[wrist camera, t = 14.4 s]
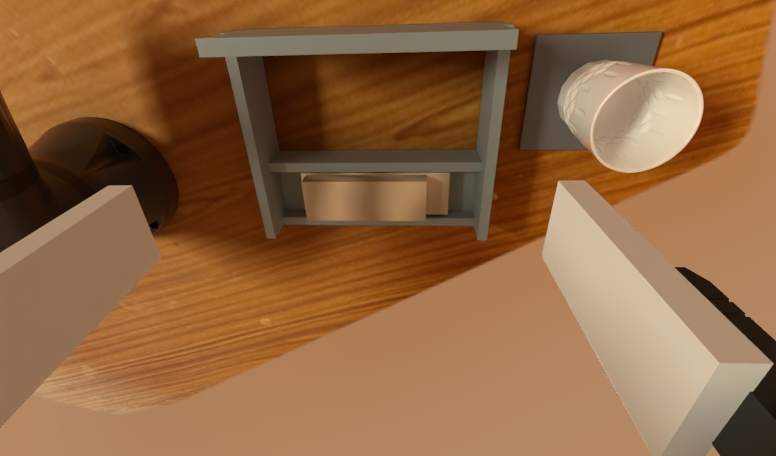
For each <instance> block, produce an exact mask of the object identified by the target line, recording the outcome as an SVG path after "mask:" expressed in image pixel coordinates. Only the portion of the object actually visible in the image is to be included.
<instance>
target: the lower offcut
mask: <svg viewBox="0 0 776 456" xmlns="http://www.w3.org/2000/svg"><path fill="white" fill-rule="evenodd" d="M305 175H426V180H427V186H426V214H448V200H449V183H450V172H301V179H302V180H303V178H304V177H305Z"/></svg>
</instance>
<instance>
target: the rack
mask: <svg viewBox="0 0 776 456" xmlns="http://www.w3.org/2000/svg"><path fill="white" fill-rule="evenodd" d="M518 35H519V29H516V28H514V24H509V23H504V22H466V23H433V24H400V25H367V26H333V27H300V28H267V29H245V30H238V31H231V32H224V33H220V35H215V36H208V37H202V38H195V42H196V46H197V49H198V53H199V57H200V58H201V57H225V59H226V64H227V68H228V72H229V77H230V81H231V85H232V90H233V94H234V98H235V103H236V107H237V111H238V116H239V120H240V124H241V129H242V133H243V137H244V142H245V146H246V151H247V155H248V159H249V164H250V168H251V172H252V177H253V181H254V185H255V190H256V194H257V198H258V203H259V207H260V211H261V216H262V220H263V224H264V229H265V233H266V237H267V238H273V239H276V237H277V235H278V234H279V232H280V230H281V229H282V227H283V225H383V226H474V229H475V233H476V237H477V240H485V241H487V236H488V228H489V220H490V212H491V204H492V196H493V188H494V180H495V173H496V165H497V157H498V149H499V141H500V133H501V125H502V117H503V109H504V101H505V93H506V85H507V77H508V69H509V61H510V53H511V50H517V42H518ZM481 50H486V53H485V64H484V75H483V85H482V96H481V106H480V117H479V127H478V138H477V148H476V149H422V150H282V151H280V150H279V144H278V139H277V134H276V128H275V123H274V117H273V112H272V106H271V101H270V95H269V90H268V84H267V79H266V74H265V68H264V63H263V57H262V56H281V55H321V54H361V53H401V52H441V51H481ZM301 172H450V183H449V200H448V214H426V221H332V220H307V215H306V209H305V203H304V197H303V190H302V184H301V181H302V179H301Z"/></svg>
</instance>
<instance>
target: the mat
mask: <svg viewBox="0 0 776 456" xmlns="http://www.w3.org/2000/svg"><path fill="white" fill-rule="evenodd" d="M661 35H662V32H627V33H591V34H554V35H536V38H535V45H534V51H533V58H532V64H531V71H530V77H529V84H528V90H527V97H526V103H525V110H524V116H523V123H522V129H521V136H520V142H519V150H588V149H587V148H586V147H585V146H584V145H583V144H582V143H581V142H580V141H579V139H578V138H577V137H576V136H575V135H574V134H573V133H572V132H571V130H570V128H569V127H568V125H567V124H566V123H565V122H564V121H563V120H562V119H561V118H560V115H559V110H558V105H557V102H558V98H559V94H560V90H561V87H562V86H563V84H564V83H565V82H566V80H567V79H568V78H569V76H570V75H571V74H572V72H574V71H575V70H577V69H579V68H580V67H582V66H583V65H585V64H587V63H588V62H594V61H600V60H610V61H624V62H631V63H640V64H646V65H652V64H653V61H654V58H655V55H656V51H657V48H658V45H659V41H660V38H661Z"/></svg>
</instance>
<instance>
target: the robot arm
mask: <svg viewBox="0 0 776 456" xmlns="http://www.w3.org/2000/svg"><path fill="white" fill-rule="evenodd" d="M177 204H178V192H177V186H176V182H175V179H174V177H173V174H172V172H171V170H170V168H169V167H168V165H167V163H166V162H165V160H164V159H163V158H162V156H161V155H160V154H159V153H158V152H157V150H156V149H155V148H154V147H153V146H152V145H151V144H150V143H148V142H147V141H146V140H145V139H144V138H142V137H141V136H140V135H138V134H137V133H135V132H134V131H132V130H130V129H129V128H127V127H125V126H123V125H120V124H118V123H115V122H113V121H110V120H106V119H101V118H94V117H84V118H78V119H74V120H71V121H68V122H65V123H62V124H59V125H57V126H54V127H53V128H51V129H49V130H48V131H46V132H45V133H44V134H43V135H42V136H41V137H40V138H39V139H38V140H37V141H36V142H35V143H34V144H33V145H32V146H31V147H30V148H29V149H28V148H27V146H26V144H25V142H24V140H23V138H22V136H21V134H20V132H19V130H18V128H17V126H16V124H15V122H14V120H13V118H12V115H11V113H10V111H9V109H8V107H7V105H6V103H5V100H4V98H3V96H2V94H1V92H0V427H1V426H2V425H3V424H4V423H5V422H6V421H7V420H8V419H9V418H10V417H11V416H12V415H13V414H14V413H15V412H16V410H17V409H18V408H19V407H20V406H21V405H22V404H23V403H24V402H25V401H26V400H27V399H28V398H29V397H30V396H31V395H32V394H33V393H34V392H35V390H36V389H37V388H38V387H39V386H40V385H41V384H42V383H43V382H44V381H45V380H46V379H47V378H48V377H49V376H50V375H51V374H52V373H53V371H54V370H55V369H56V368H57V367H58V366H59V365H60V364H61V363H62V362H63V361H64V360H65V359H66V358H67V357H68V356H69V355H70V354H71V352H72V351H73V350H74V349H75V348H76V347H77V346H78V345H79V344H80V343H81V342H82V341H83V340H84V339H85V338H86V337H87V336H88V334H89V333H90V332H91V331H92V330H93V329H94V328H95V327H96V326H97V325H98V324H99V323H100V322H101V321H102V320H103V319H104V318H105V317H106V315H107V314H108V313H109V312H110V311H111V310H112V309H113V308H114V307H115V306H116V305H117V304H118V303H119V302H120V301H121V300H122V299H123V298H124V296H125V295H126V294H127V293H128V292H129V291H130V290H131V289H132V288H133V287H134V286H135V285H136V284H137V283H138V282H139V281H140V280H141V279H142V277H143V276H144V275H145V274H146V273H147V272H148V271H149V270H150V269H151V268H152V267H153V266H154V265H155V264H156V263H157V262H158V261H159V260H160V258H161V255H160V252H159V250H158V247H157V245H156V242H155V240H154V238H153V235H154V234H155V233H157V232H158V231H159V230H160V229H161V228H162V227H164V226H165V225H166V224H167V223H168V222H169V221H170V220H171V219H172V217H173V215H174V214H175V211H176V208H177ZM542 258H543V260H544V262H545V264H546V265H547V267H548V269H549V271H550V273H551V274H552V276H553V278H554V280H555V282H556V284H557V285H558V287H559V289H560V291H561V293H562V294H563V296H564V298H565V300H566V302H567V303H568V305H569V307H570V309H571V311H572V312H573V314H574V316H575V318H576V320H577V321H578V323H579V325H580V327H581V329H582V330H583V332H584V334H585V336H586V338H587V340H588V341H589V343H590V345H591V347H592V349H593V350H594V352H595V354H596V356H597V358H598V360H599V361H600V363H601V365H602V367H603V369H604V370H605V372H606V374H607V376H608V378H609V379H610V381H611V383H612V385H613V387H614V389H615V390H616V392H617V394H618V396H619V398H620V399H621V401H622V403H623V405H624V407H625V408H626V410H627V412H628V414H629V416H630V417H631V419H632V421H633V423H634V425H635V426H636V428H637V430H638V432H639V434H640V436H641V437H642V439H643V441H644V443H645V445H646V446H647V448H648V450H649V452H650V454H651V456H705V455H706V454H707V453H708V451H709V450H710V448H711V447H712V446H714V447H715V449H716V450H717V452H718V453H719V454H720V456H776V341H775V340H774V339H773V338H772V337H771V336H770V335H768V334H767V333H766V332H765V331H764V330H763V329H762V328H761V327H760V326H759V325H757V324H756V323H755V322H754V321H753V320H752V319H751V318H750V317H745V313H744V312H743V311H742V310H741V309H740V308H739V307H737V306H736V305H735V304H734V303H733V302H729V298H727V297H726V296H725V295H724V294H723V293H722V292H721V291H720V290H719V289H718V288H716V287H715V286H714V285H713V284H712V283H711V282H710V281H708V280H706V279H704V278H703V277H701V276H699V275H697V274H695V273H694V272H692V271H690V270H688V269H687V268H685V267H673V266H672V265H671V264H670V263H669V262H668V261H667V260H666V259H665V258H664V257H663V256H662V255H661V254H660V253H659V252H658V251H657V250H656V249H655V248H654V247H653V246H652V245H651V244H650V243H649V242H647V240H646V239H645V238H644V237H642V236H641V235H640V234H639V233H638V232H637V231H636V230H635V229H634V228H633V227H632V226H631V225H630V224H629V223H628V222H627V221H626V220H625V219H624V218H623V217H622V216H621V215H620V214H619V213H618V212H617V211H616V210H615V209H614V208H613V207H611V206H610V205H609V204H608V203H607V202H606V201H605V200H604V199H603V198H602V197H601V196H600V195H599V194H598V193H597V192H596V191H595V190H594V189H593V188H592V187H591V186H590V185H589V184H588V183H587V182H586V181H585V180H571V181H558V185H557V189H556V193H555V198H554V202H553V207H552V211H551V216H550V220H549V225H548V229H547V234H546V238H545V243H544V247H543V251H542Z"/></svg>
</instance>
